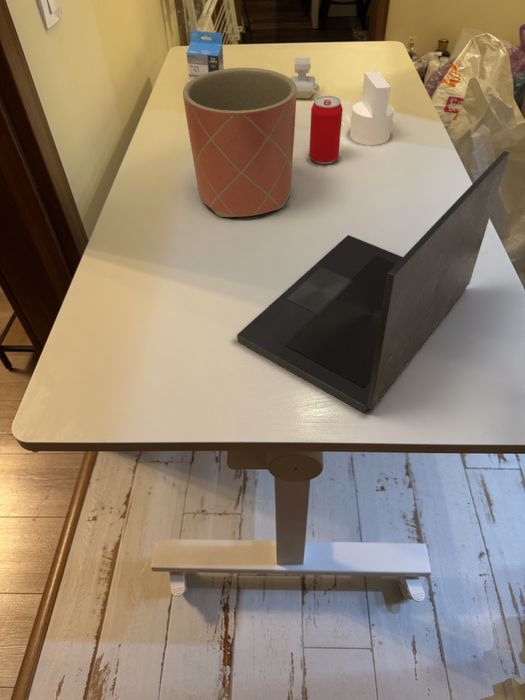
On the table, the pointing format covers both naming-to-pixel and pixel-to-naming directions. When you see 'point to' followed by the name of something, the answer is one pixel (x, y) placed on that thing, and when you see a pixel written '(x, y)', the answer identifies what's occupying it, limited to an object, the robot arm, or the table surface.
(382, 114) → the cylinder with rectangular tab
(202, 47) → the ink cartridge box
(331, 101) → the beverage can
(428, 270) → the laptop screen
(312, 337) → the laptop
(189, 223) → the table surface
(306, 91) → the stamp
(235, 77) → the planter
